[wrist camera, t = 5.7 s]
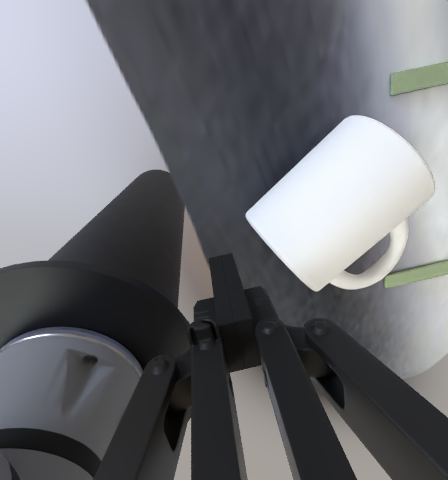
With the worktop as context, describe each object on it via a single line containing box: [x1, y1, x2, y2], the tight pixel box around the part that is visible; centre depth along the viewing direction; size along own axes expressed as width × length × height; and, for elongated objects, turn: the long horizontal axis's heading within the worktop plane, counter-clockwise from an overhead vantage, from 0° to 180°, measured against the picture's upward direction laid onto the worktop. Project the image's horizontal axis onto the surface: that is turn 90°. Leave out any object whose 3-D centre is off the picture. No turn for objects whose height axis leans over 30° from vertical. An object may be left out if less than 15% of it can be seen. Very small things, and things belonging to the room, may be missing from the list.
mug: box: [245, 115, 435, 291], centre depth 22 cm, size 12×10×8 cm
